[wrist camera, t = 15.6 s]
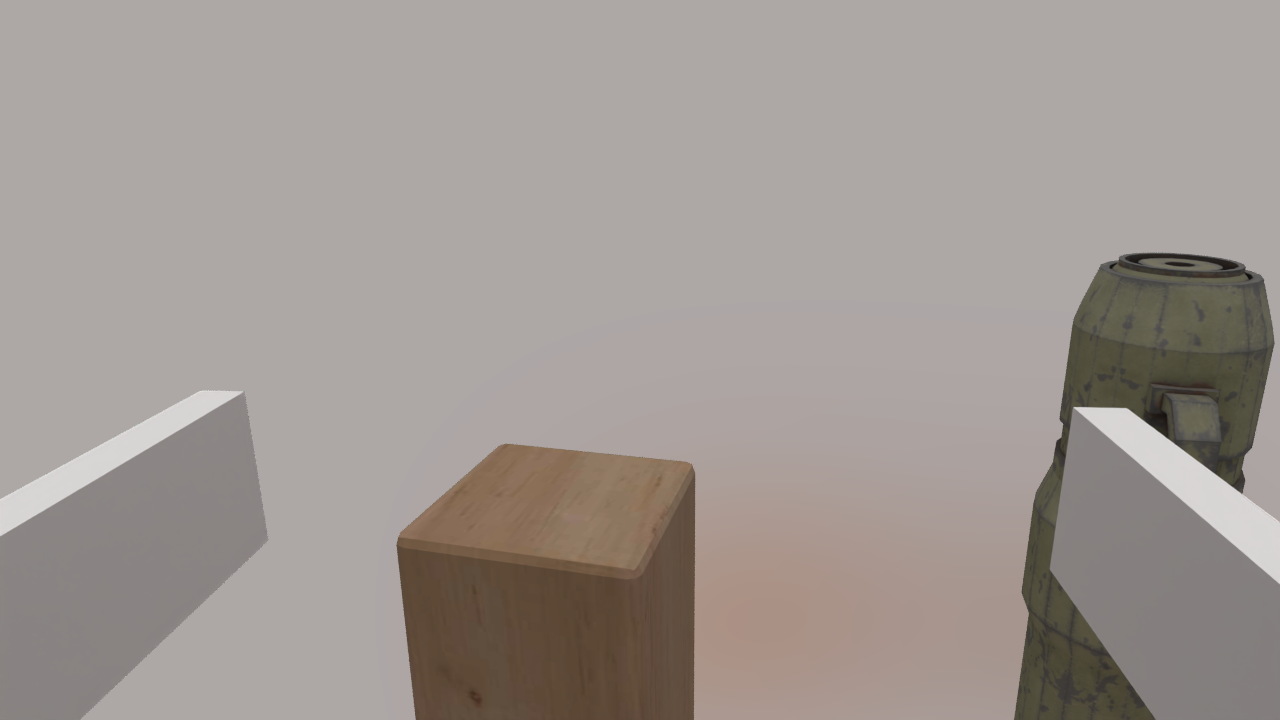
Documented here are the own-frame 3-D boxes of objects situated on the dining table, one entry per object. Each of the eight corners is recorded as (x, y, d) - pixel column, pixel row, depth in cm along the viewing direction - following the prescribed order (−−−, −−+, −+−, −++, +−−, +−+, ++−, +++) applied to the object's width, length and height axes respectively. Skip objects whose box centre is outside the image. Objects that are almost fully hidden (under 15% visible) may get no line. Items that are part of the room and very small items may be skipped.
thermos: (1119, 813, 51) (1229, 241, 41) (1205, 1010, 40) (1384, 292, 30) (967, 793, 53) (1035, 239, 42) (1008, 976, 42) (1114, 286, 31)
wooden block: (433, 927, 38) (390, 534, 32) (522, 767, 47) (500, 439, 41) (645, 985, 35) (638, 568, 30) (695, 804, 45) (697, 458, 39)
